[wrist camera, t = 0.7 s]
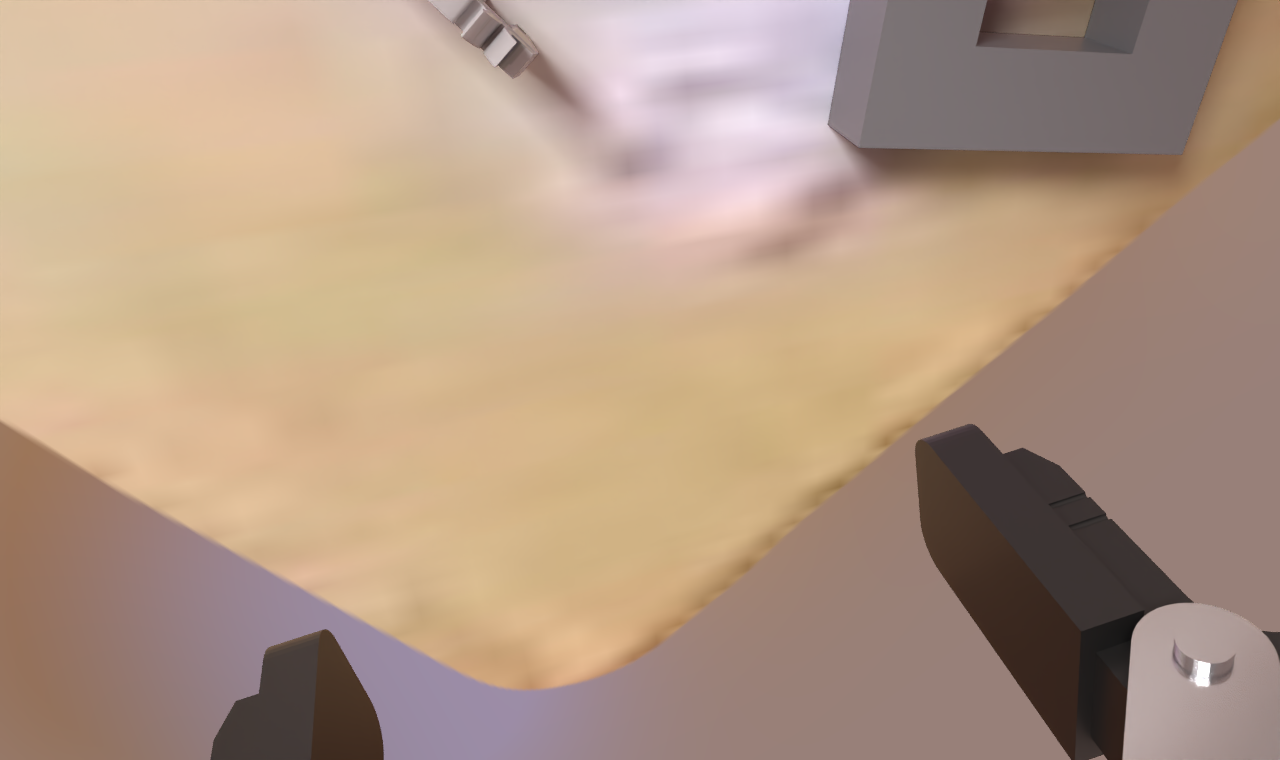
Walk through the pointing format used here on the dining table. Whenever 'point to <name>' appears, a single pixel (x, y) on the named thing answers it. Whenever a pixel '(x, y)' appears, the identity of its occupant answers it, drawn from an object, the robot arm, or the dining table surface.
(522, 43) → the caliper
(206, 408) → the dining table surface
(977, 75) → the grey square holed block
